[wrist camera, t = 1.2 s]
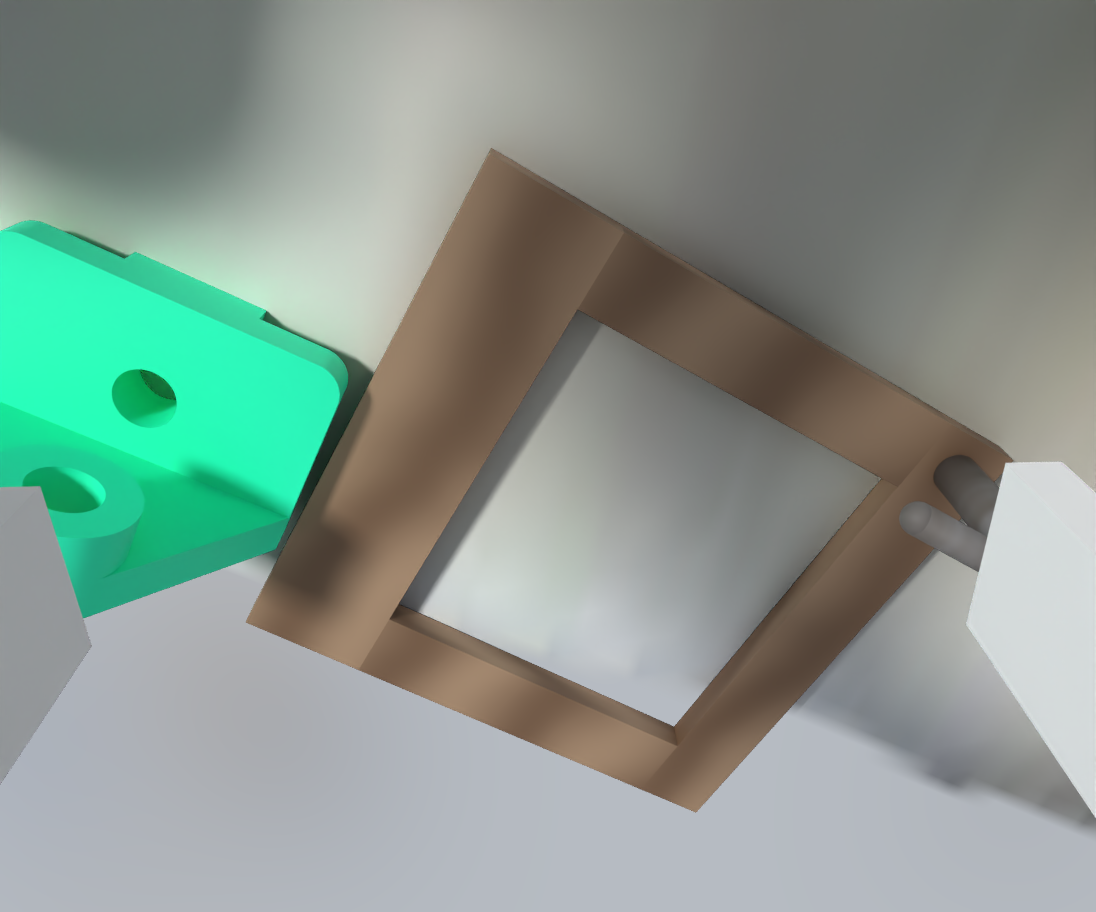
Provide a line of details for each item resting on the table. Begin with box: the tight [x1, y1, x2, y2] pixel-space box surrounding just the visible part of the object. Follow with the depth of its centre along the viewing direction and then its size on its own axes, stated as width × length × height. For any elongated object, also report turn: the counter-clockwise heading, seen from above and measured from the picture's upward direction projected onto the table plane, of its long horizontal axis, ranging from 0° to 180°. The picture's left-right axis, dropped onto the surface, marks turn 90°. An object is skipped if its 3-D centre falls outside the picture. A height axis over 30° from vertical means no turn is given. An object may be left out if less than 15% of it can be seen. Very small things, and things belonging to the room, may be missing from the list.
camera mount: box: [0, 220, 348, 618], centre depth 29 cm, size 12×8×10 cm, turn 63°
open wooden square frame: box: [246, 148, 1013, 812], centre depth 32 cm, size 22×21×10 cm
